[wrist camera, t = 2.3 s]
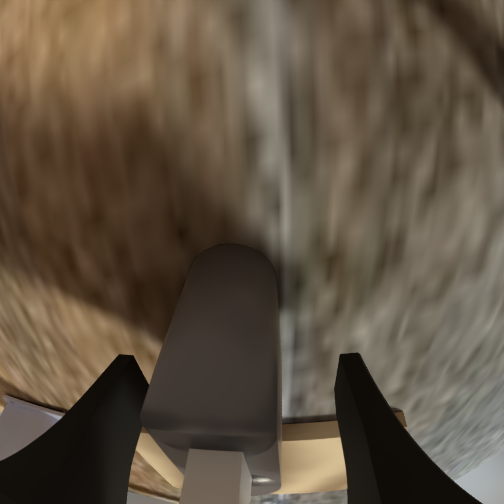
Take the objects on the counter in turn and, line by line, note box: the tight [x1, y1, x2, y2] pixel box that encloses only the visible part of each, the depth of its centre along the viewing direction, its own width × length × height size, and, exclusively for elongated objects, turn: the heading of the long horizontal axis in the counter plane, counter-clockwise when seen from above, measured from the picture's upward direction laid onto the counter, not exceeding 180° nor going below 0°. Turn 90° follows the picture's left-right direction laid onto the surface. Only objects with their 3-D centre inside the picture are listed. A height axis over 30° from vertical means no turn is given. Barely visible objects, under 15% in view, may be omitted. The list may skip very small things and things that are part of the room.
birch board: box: [136, 411, 407, 494], centre depth 20 cm, size 18×13×1 cm
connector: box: [140, 244, 282, 504], centre depth 9 cm, size 3×8×8 cm, turn 5°
